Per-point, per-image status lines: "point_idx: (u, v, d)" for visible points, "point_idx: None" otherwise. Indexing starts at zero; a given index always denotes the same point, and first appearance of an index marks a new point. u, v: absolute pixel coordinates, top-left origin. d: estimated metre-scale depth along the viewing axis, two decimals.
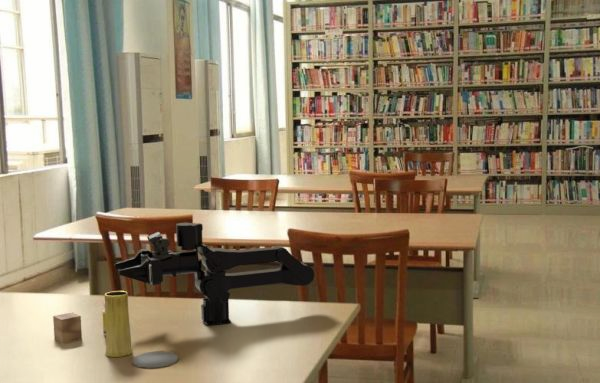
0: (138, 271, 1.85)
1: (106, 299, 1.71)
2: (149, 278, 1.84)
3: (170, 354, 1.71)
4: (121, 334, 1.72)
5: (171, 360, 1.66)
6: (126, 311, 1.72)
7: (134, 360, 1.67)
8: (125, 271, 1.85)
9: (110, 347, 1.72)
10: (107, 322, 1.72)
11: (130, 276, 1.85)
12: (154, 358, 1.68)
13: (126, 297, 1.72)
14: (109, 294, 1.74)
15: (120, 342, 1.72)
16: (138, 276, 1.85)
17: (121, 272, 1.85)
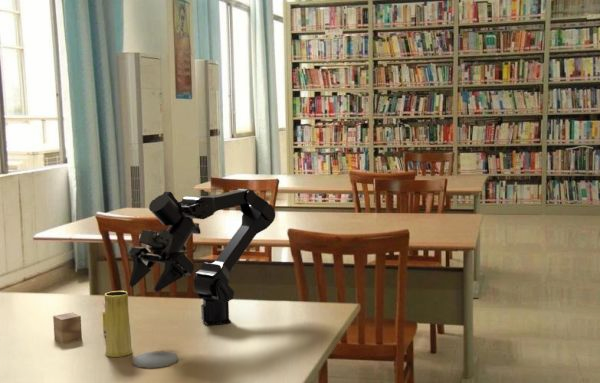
0: (168, 275, 1.78)
1: (106, 299, 1.71)
2: (183, 272, 1.79)
3: (170, 354, 1.71)
4: (121, 334, 1.72)
5: (171, 360, 1.66)
6: (126, 311, 1.72)
7: (134, 360, 1.67)
8: (160, 285, 1.77)
9: (110, 347, 1.72)
10: (107, 322, 1.72)
11: (166, 284, 1.78)
12: (154, 358, 1.68)
13: (126, 297, 1.72)
14: (109, 294, 1.74)
15: (120, 342, 1.72)
16: (171, 278, 1.78)
17: (157, 289, 1.76)
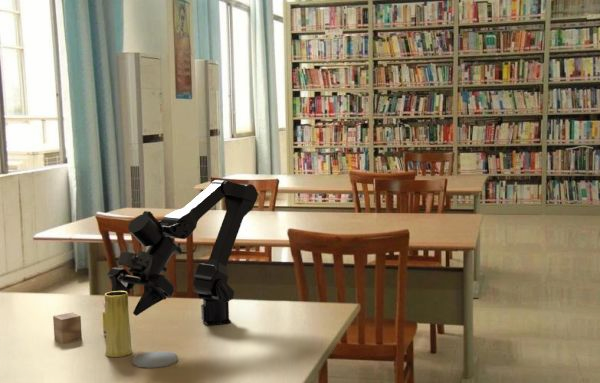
0: (148, 297, 1.73)
1: (106, 299, 1.71)
2: (163, 295, 1.74)
3: (170, 354, 1.71)
4: (121, 334, 1.72)
5: (171, 360, 1.66)
6: (126, 311, 1.72)
7: (134, 360, 1.67)
8: (139, 309, 1.72)
9: (110, 347, 1.72)
10: (107, 322, 1.72)
11: (145, 308, 1.73)
12: (154, 358, 1.68)
13: (126, 297, 1.72)
14: (109, 294, 1.74)
15: (120, 342, 1.72)
16: (151, 301, 1.74)
17: (136, 312, 1.72)
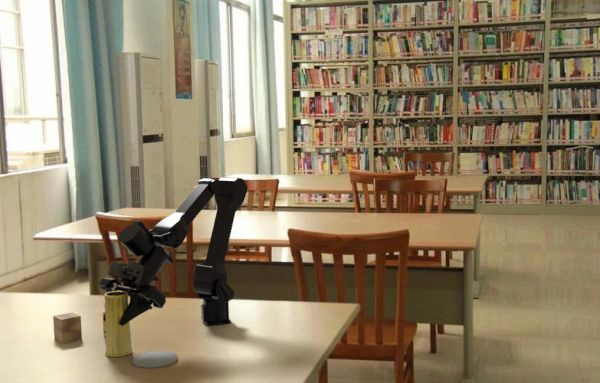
0: (134, 307, 1.72)
1: (106, 299, 1.71)
2: (149, 305, 1.73)
3: (170, 354, 1.71)
4: (121, 334, 1.72)
5: (171, 360, 1.66)
6: None
7: (134, 360, 1.67)
8: (125, 319, 1.71)
9: (110, 347, 1.72)
10: (107, 322, 1.72)
11: (131, 318, 1.72)
12: (154, 358, 1.68)
13: (126, 297, 1.72)
14: (109, 294, 1.74)
15: (120, 342, 1.72)
16: (137, 311, 1.73)
17: (122, 322, 1.71)
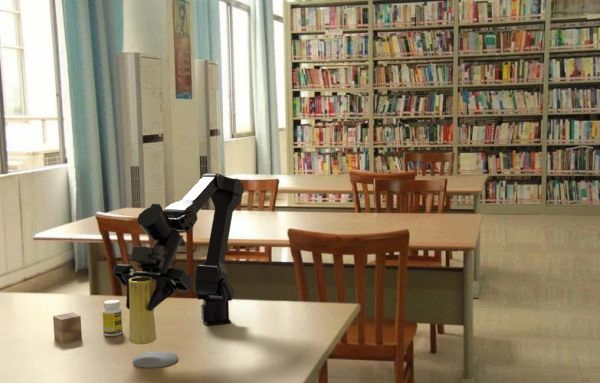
0: (160, 292, 1.68)
1: (132, 285, 1.66)
2: (175, 288, 1.70)
3: (170, 354, 1.71)
4: (148, 320, 1.67)
5: (171, 360, 1.66)
6: None
7: (134, 360, 1.67)
8: (153, 304, 1.67)
9: (137, 334, 1.66)
10: (133, 309, 1.66)
11: (158, 302, 1.68)
12: (154, 358, 1.68)
13: (152, 282, 1.68)
14: (131, 280, 1.69)
15: (147, 328, 1.67)
16: (163, 296, 1.69)
17: (151, 308, 1.66)
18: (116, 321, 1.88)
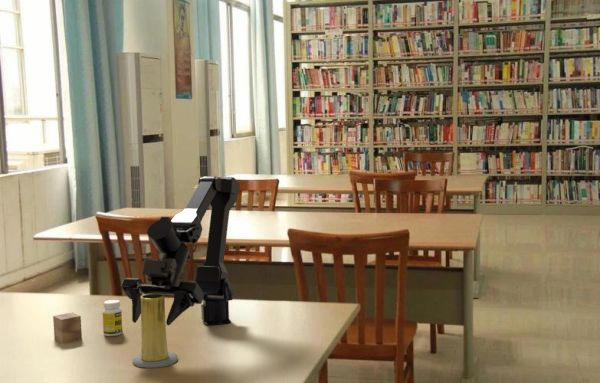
0: (178, 305, 1.67)
1: (145, 302, 1.65)
2: (192, 301, 1.69)
3: (170, 354, 1.71)
4: (161, 337, 1.66)
5: (171, 360, 1.66)
6: None
7: (134, 360, 1.67)
8: (171, 318, 1.65)
9: (150, 352, 1.65)
10: (146, 326, 1.65)
11: (176, 316, 1.67)
12: None
13: (164, 299, 1.67)
14: (143, 297, 1.68)
15: (160, 345, 1.66)
16: (181, 309, 1.68)
17: (169, 322, 1.65)
18: (116, 321, 1.88)
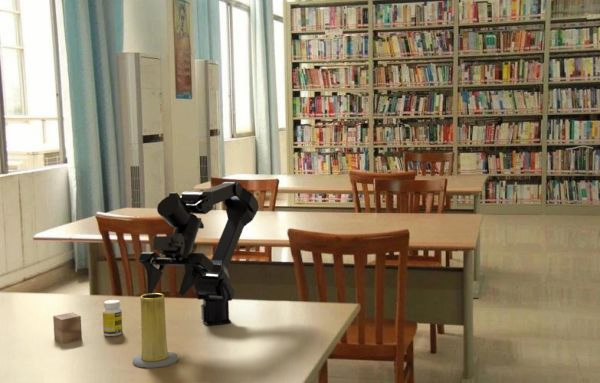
0: (190, 277, 1.76)
1: (145, 302, 1.65)
2: (204, 272, 1.78)
3: (170, 354, 1.71)
4: (161, 337, 1.66)
5: (171, 360, 1.66)
6: None
7: (134, 360, 1.67)
8: (184, 289, 1.75)
9: (150, 352, 1.65)
10: (146, 326, 1.65)
11: (189, 287, 1.76)
12: None
13: (164, 299, 1.67)
14: (143, 297, 1.68)
15: (160, 345, 1.66)
16: (193, 280, 1.77)
17: (182, 293, 1.75)
18: (116, 321, 1.88)
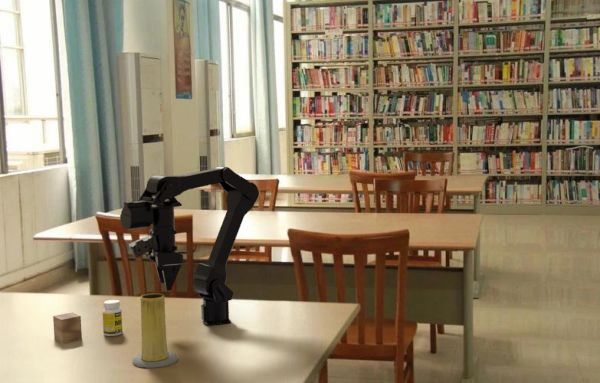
0: (168, 272, 1.83)
1: (145, 302, 1.65)
2: (176, 264, 1.81)
3: (170, 354, 1.71)
4: (161, 337, 1.66)
5: (171, 360, 1.66)
6: (164, 313, 1.67)
7: (134, 360, 1.67)
8: (168, 285, 1.84)
9: (150, 352, 1.65)
10: (146, 326, 1.65)
11: (173, 280, 1.84)
12: None
13: (164, 299, 1.67)
14: (143, 297, 1.68)
15: (160, 345, 1.66)
16: (173, 273, 1.83)
17: (168, 288, 1.84)
18: (116, 321, 1.88)
